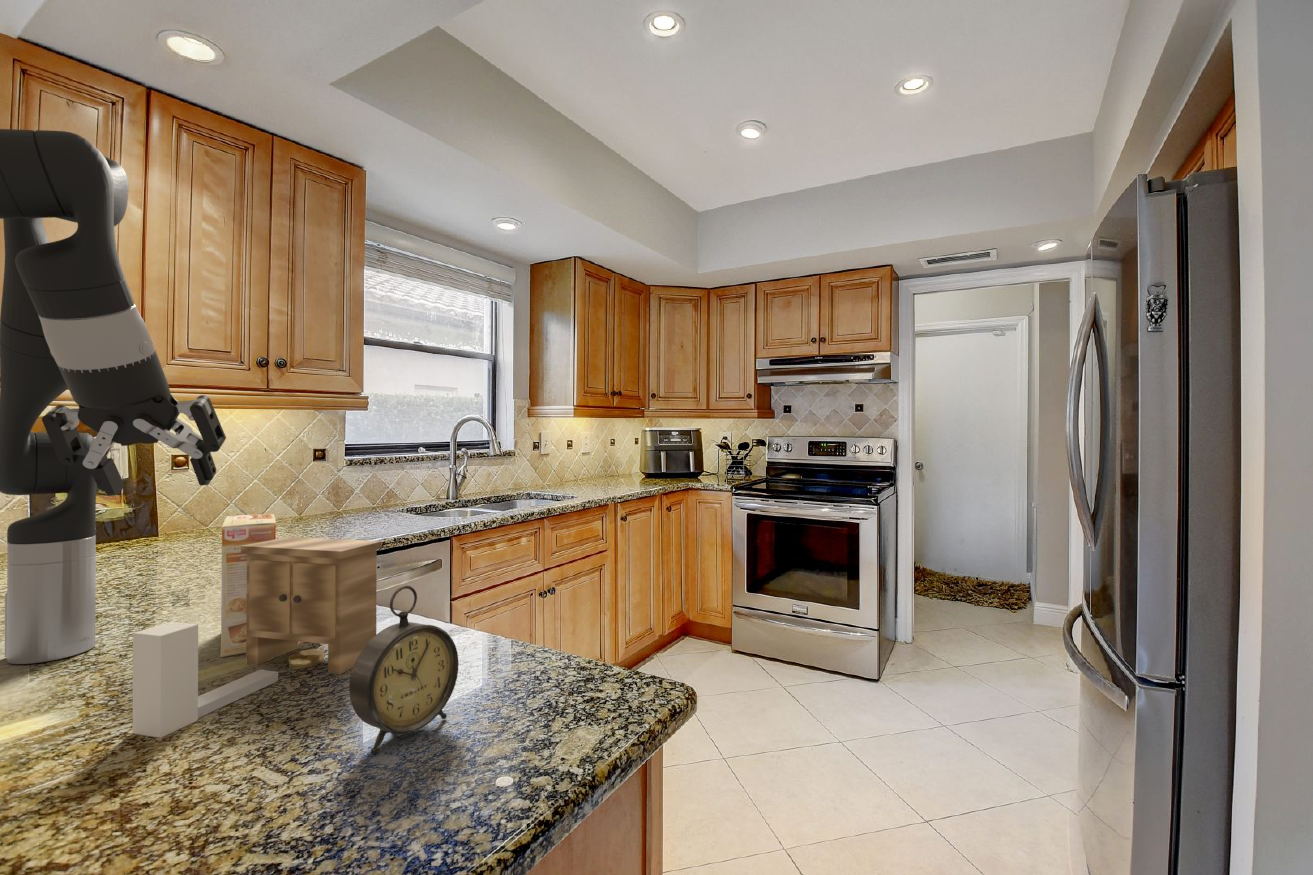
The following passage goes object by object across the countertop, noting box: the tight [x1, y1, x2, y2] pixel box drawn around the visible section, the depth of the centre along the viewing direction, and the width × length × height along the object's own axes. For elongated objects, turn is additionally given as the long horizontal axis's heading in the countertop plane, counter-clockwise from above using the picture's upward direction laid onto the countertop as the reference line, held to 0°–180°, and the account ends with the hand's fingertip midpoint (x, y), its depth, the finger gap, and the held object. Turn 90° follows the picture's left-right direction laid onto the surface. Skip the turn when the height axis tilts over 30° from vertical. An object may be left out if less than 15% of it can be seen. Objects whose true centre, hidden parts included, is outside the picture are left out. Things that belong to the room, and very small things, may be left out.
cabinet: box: [241, 536, 383, 675], centre depth 84 cm, size 17×8×17 cm, turn 76°
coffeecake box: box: [219, 513, 277, 658], centre depth 93 cm, size 15×7×20 cm, turn 34°
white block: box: [132, 621, 279, 739], centre depth 70 cm, size 4×15×11 cm, turn 167°
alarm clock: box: [349, 585, 460, 755], centre depth 63 cm, size 11×5×16 cm, turn 148°
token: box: [288, 648, 325, 670], centre depth 83 cm, size 4×4×1 cm
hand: (162, 486), depth 66 cm, fingers open, 8 cm apart
